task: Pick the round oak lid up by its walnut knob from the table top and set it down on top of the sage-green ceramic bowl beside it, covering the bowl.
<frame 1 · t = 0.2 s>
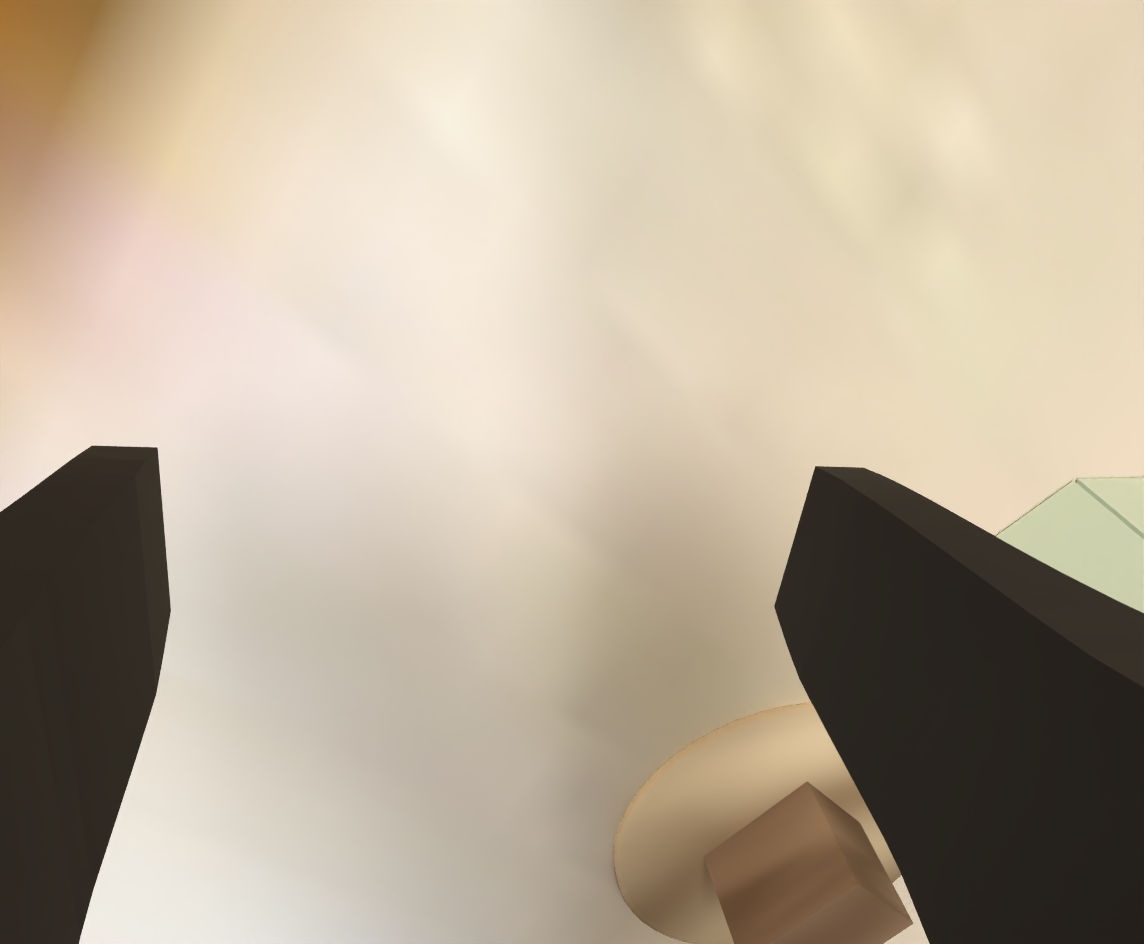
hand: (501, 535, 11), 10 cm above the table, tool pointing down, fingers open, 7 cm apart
oak lid: (773, 818, 31), on the table
green bowl: (1078, 613, 28), on the table
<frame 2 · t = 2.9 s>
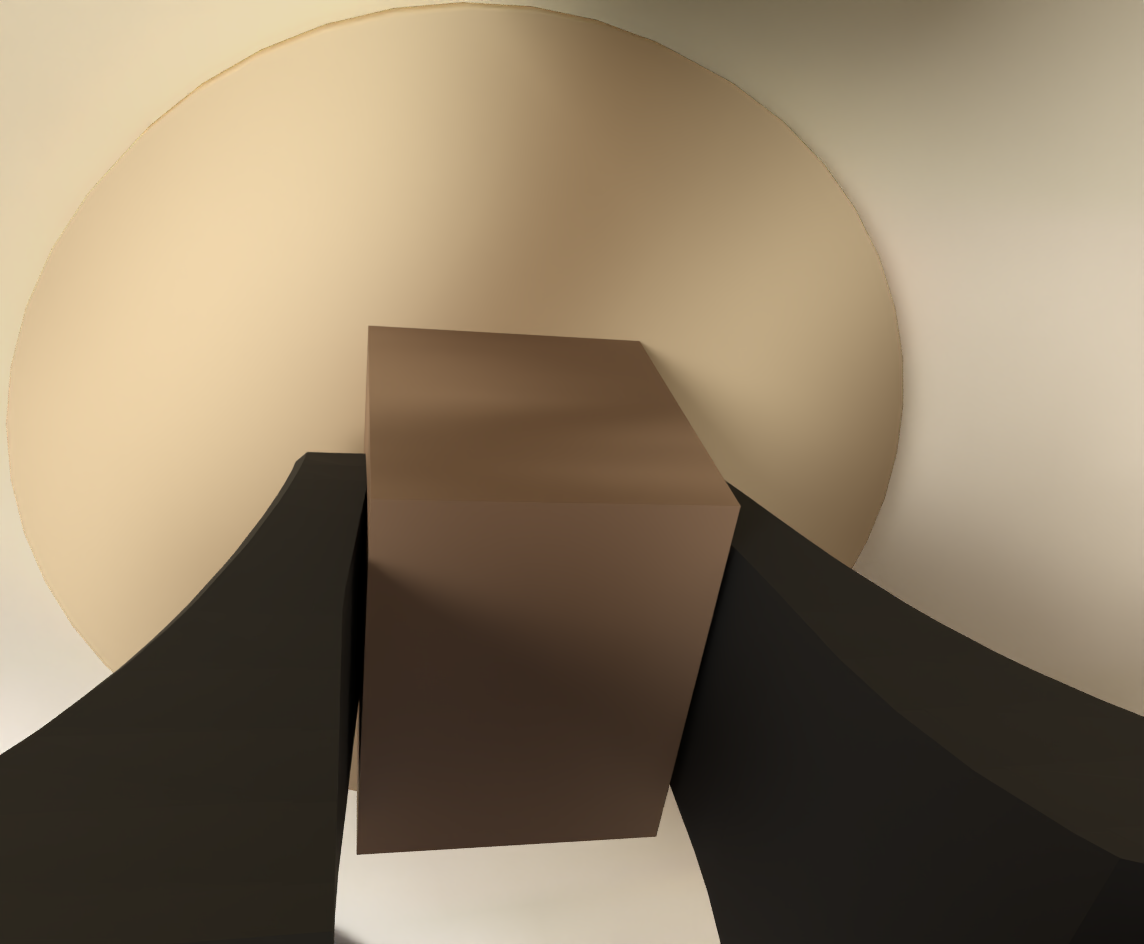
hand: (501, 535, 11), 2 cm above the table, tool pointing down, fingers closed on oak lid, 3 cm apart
oak lid: (483, 456, 12), on the table, touching gripper
when the fingers open (8 cm above the table, at t = 6.1 s): oak lid stays where it is, resting on green bowl.
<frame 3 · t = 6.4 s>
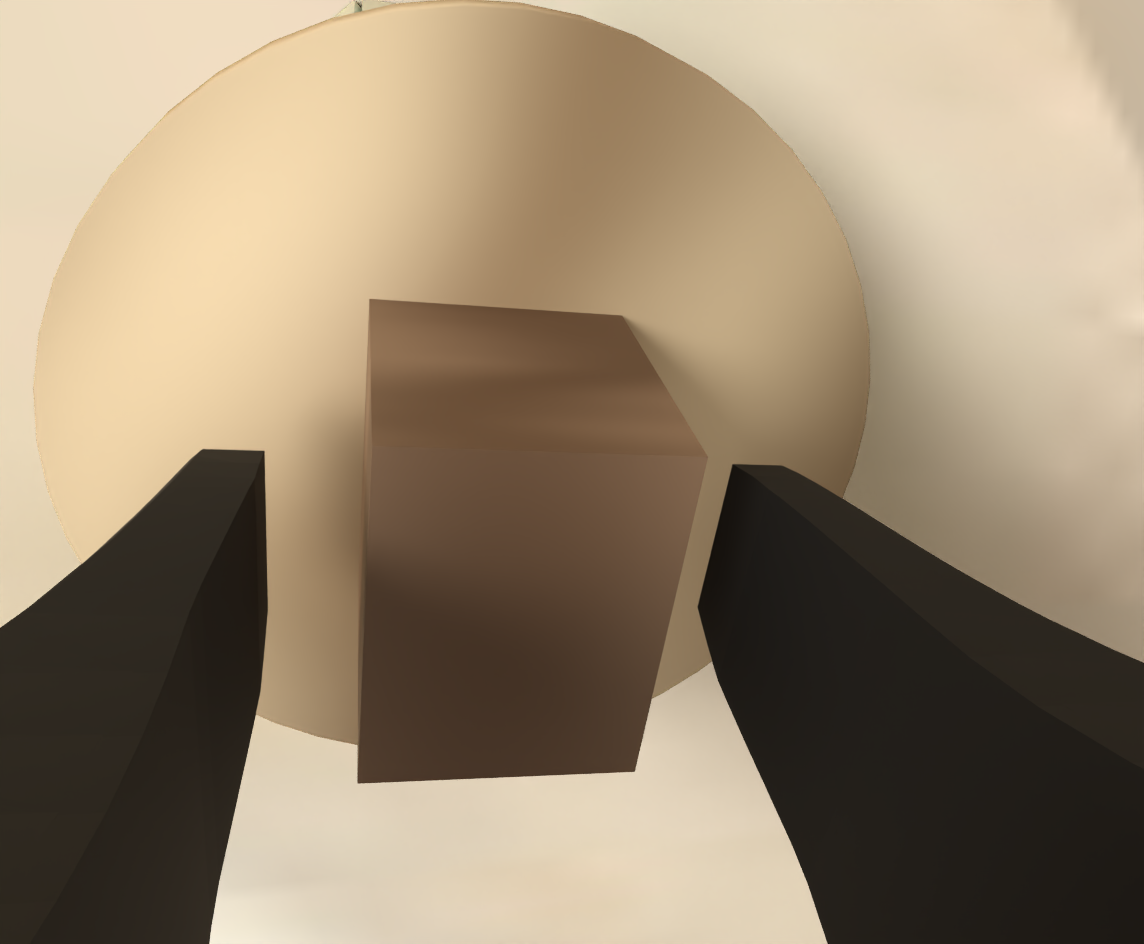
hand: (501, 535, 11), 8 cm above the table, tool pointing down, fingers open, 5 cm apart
oak lid: (477, 426, 13), point 5 cm above the table, touching green bowl
green bowl: (449, 292, 17), on the table, touching oak lid
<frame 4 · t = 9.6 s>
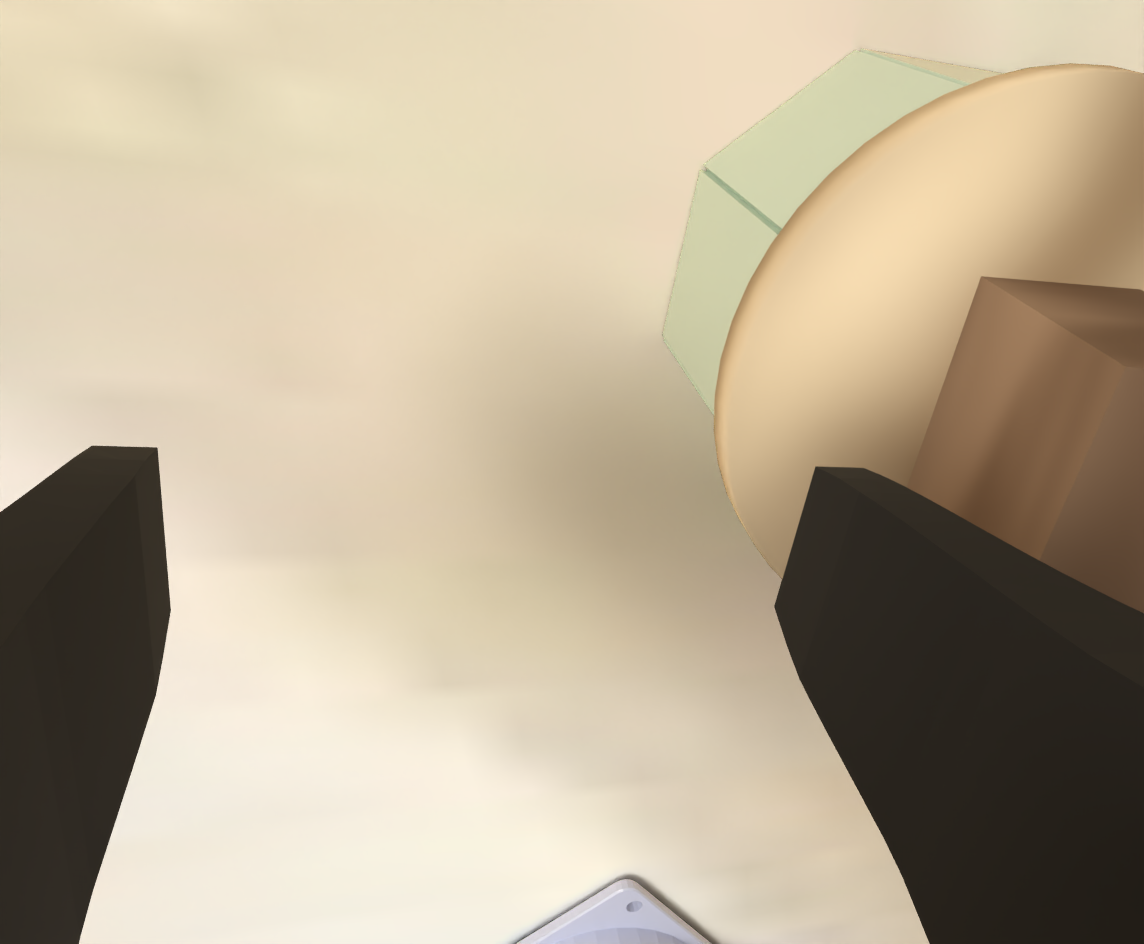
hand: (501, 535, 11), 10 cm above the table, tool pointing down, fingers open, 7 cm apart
oak lid: (993, 374, 18), point 5 cm above the table, touching green bowl
green bowl: (871, 277, 22), on the table, touching oak lid
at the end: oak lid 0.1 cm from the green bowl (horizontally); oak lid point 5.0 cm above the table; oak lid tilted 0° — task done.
